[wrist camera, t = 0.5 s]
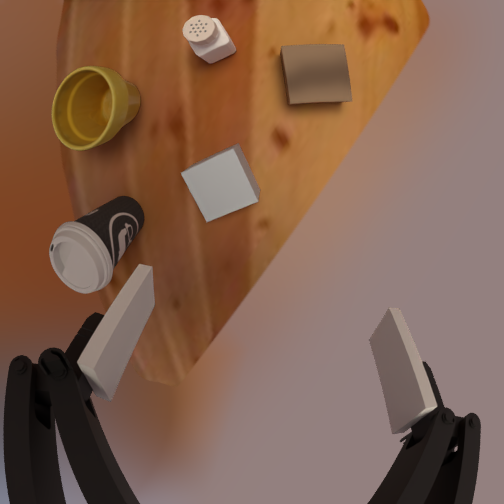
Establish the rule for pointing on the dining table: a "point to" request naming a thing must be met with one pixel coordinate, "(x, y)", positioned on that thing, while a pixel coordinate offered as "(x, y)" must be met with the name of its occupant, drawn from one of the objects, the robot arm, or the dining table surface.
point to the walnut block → (315, 73)
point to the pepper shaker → (208, 38)
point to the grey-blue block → (222, 183)
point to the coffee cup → (95, 244)
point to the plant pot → (93, 107)
